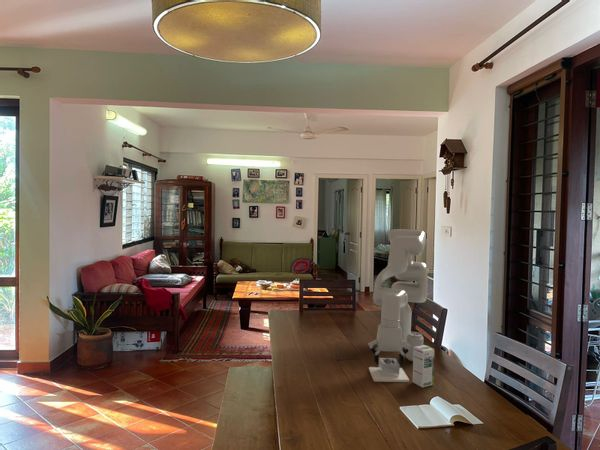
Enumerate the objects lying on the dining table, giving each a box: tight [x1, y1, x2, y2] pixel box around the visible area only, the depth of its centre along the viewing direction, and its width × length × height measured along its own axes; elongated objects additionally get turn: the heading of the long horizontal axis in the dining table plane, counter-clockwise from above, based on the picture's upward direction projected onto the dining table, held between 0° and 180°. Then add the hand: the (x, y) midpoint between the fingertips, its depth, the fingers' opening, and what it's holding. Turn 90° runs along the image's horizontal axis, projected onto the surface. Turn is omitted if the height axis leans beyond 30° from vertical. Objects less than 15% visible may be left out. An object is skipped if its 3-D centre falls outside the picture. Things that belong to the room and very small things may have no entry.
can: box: [405, 331, 425, 362], centre depth 189 cm, size 8×8×12 cm
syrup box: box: [412, 344, 435, 388], centre depth 163 cm, size 6×6×14 cm
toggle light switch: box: [368, 357, 410, 383], centre depth 170 cm, size 14×12×7 cm
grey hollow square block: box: [377, 357, 401, 377], centre depth 170 cm, size 7×7×5 cm
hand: (388, 364), depth 170 cm, fingers open, 9 cm apart
